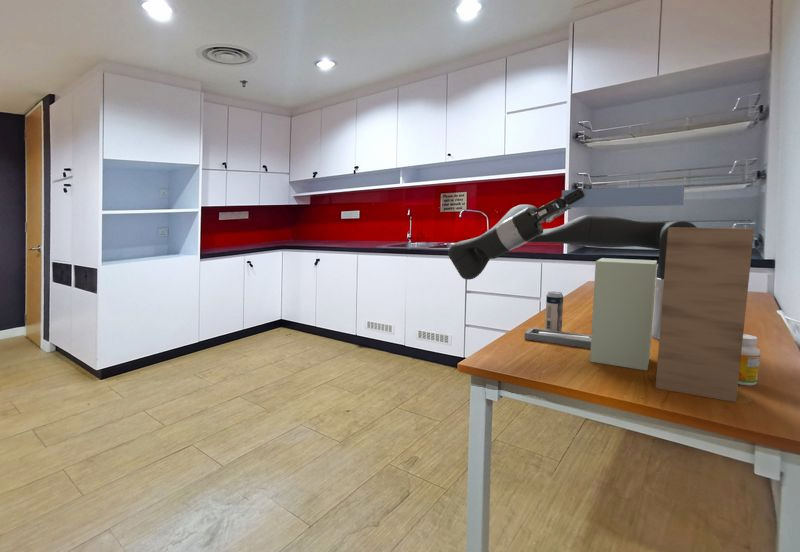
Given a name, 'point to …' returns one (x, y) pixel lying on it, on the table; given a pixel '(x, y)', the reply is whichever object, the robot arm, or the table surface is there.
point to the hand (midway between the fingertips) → (583, 192)
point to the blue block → (629, 197)
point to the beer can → (554, 311)
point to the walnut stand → (704, 310)
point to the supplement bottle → (749, 361)
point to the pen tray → (557, 338)
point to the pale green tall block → (623, 312)
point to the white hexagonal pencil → (567, 336)
